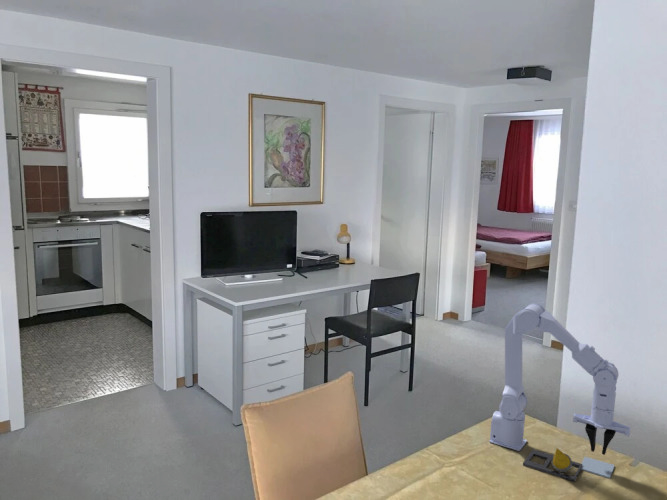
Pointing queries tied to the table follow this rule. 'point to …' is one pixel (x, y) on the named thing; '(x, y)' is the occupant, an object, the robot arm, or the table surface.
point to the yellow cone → (561, 461)
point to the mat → (597, 467)
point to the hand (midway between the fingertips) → (598, 451)
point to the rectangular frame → (546, 464)
